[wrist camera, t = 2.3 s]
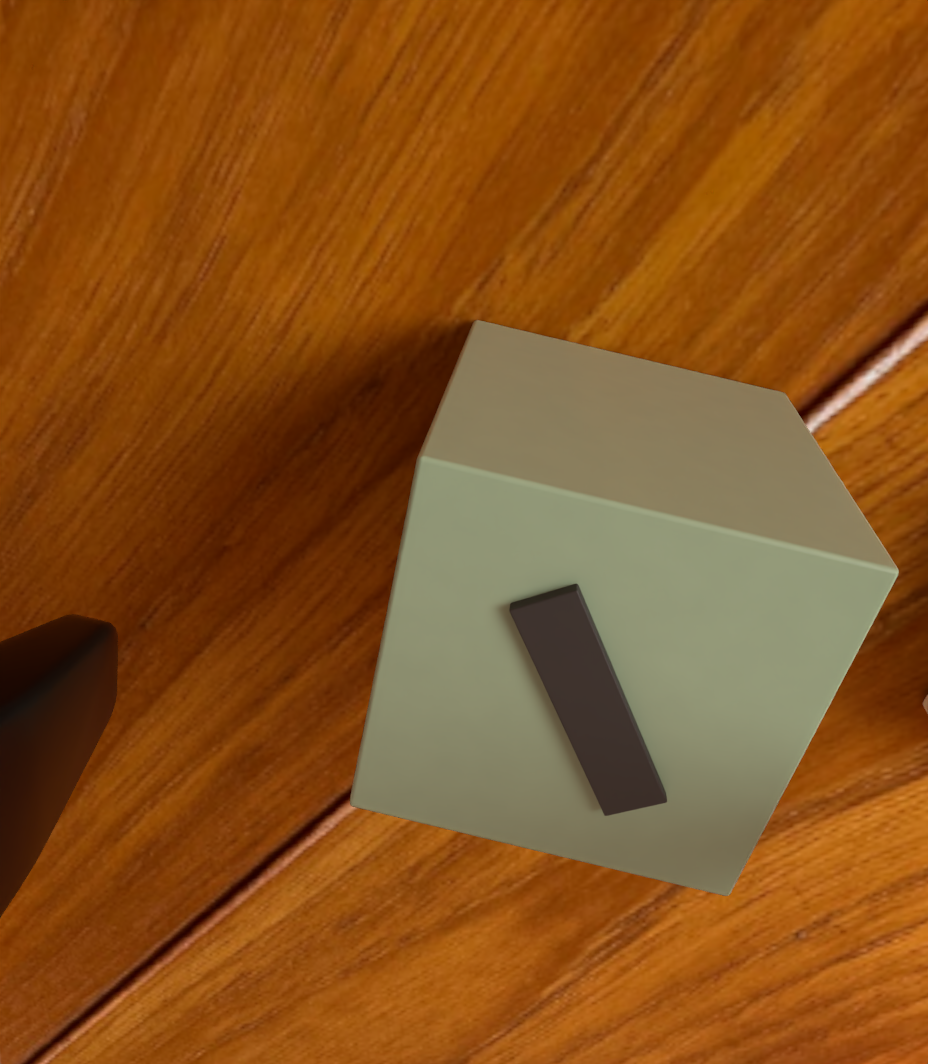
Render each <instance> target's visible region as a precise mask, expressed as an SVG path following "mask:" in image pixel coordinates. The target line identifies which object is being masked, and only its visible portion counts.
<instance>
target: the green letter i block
mask: <svg viewBox="0 0 928 1064" xmlns="http://www.w3.org/2000/svg"><path fill="white" fill-rule="evenodd" d="M898 572H899V570H898V568H897V566H896V565H895V563H894V562H893V560H892V559H891V557H890V555H889V554H888V552H887V551H886V549H885V548H884V546H883V545H882V543H881V541H880V540H879V538H878V537H877V535H876V534H875V532H874V531H873V529H872V527H871V526H870V524H869V523H868V521H867V520H866V518H865V517H864V515H863V513H862V512H861V510H860V509H859V507H858V506H857V504H856V503H855V501H854V500H853V498H852V496H851V495H850V493H849V492H848V490H847V489H846V487H845V486H844V484H843V482H842V481H841V479H840V478H839V476H838V475H837V473H836V472H835V470H834V468H833V467H832V465H831V464H830V462H829V461H828V459H827V458H826V456H825V454H824V453H823V451H822V450H821V448H820V447H819V445H818V444H817V442H816V440H815V439H814V437H813V436H812V434H811V433H810V431H809V430H808V428H807V426H806V425H805V423H804V422H803V420H802V419H801V417H800V416H799V414H798V413H797V411H796V409H795V408H794V406H793V405H792V403H791V402H790V400H789V399H788V397H787V395H786V394H785V393H783V392H779V391H775V390H771V389H766V388H762V387H758V386H754V385H750V384H745V383H741V382H737V381H733V380H728V379H724V378H720V377H716V376H712V375H707V374H703V373H699V372H695V371H691V370H686V369H682V368H678V367H674V366H670V365H665V364H661V363H657V362H653V361H648V360H644V359H640V358H636V357H632V356H627V355H623V354H619V353H615V352H611V351H606V350H602V349H598V348H594V347H590V346H585V345H581V344H577V343H573V342H568V341H564V340H560V339H556V338H552V337H547V336H543V335H539V334H535V333H531V332H526V331H522V330H518V329H514V328H510V327H505V326H501V325H497V324H493V323H488V322H484V321H480V320H475V321H474V322H473V324H472V327H471V329H470V332H469V334H468V336H467V339H466V341H465V344H464V346H463V349H462V351H461V353H460V356H459V358H458V361H457V363H456V366H455V368H454V370H453V373H452V375H451V378H450V380H449V382H448V385H447V387H446V390H445V392H444V395H443V397H442V399H441V402H440V404H439V407H438V409H437V412H436V414H435V416H434V419H433V421H432V424H431V426H430V429H429V431H428V433H427V436H426V438H425V441H424V443H423V445H422V448H421V450H420V453H419V455H418V458H417V461H416V466H415V471H414V477H413V482H412V487H411V492H410V497H409V502H408V507H407V512H406V517H405V522H404V527H403V532H402V537H401V542H400V547H399V553H398V558H397V563H396V568H395V573H394V578H393V583H392V588H391V593H390V598H389V603H388V608H387V613H386V618H385V623H384V629H383V634H382V639H381V644H380V649H379V654H378V659H377V664H376V669H375V674H374V679H373V684H372V689H371V694H370V700H369V705H368V710H367V715H366V720H365V725H364V730H363V735H362V740H361V745H360V750H359V755H358V760H357V765H356V770H355V776H354V781H353V786H352V791H351V796H350V805H351V806H353V807H357V808H361V809H365V810H369V811H373V812H378V813H382V814H386V815H390V816H394V817H398V818H403V819H407V820H411V821H415V822H419V823H423V824H428V825H432V826H436V827H440V828H444V829H448V830H453V831H457V832H461V833H465V834H469V835H474V836H478V837H482V838H486V839H490V840H494V841H499V842H503V843H507V844H511V845H515V846H519V847H524V848H528V849H532V850H536V851H540V852H544V853H549V854H553V855H557V856H561V857H565V858H569V859H574V860H578V861H582V862H586V863H590V864H595V865H599V866H603V867H607V868H611V869H615V870H620V871H624V872H628V873H632V874H636V875H640V876H645V877H649V878H653V879H657V880H661V881H665V882H670V883H674V884H678V885H682V886H686V887H690V888H695V889H699V890H703V891H707V892H711V893H716V894H720V895H724V896H728V895H730V893H731V891H732V889H733V887H734V886H735V884H736V882H737V880H738V878H739V876H740V874H741V872H742V870H743V868H744V867H745V865H746V863H747V861H748V859H749V857H750V855H751V853H752V851H753V850H754V848H755V846H756V844H757V842H758V840H759V838H760V836H761V834H762V832H763V831H764V829H765V827H766V825H767V823H768V821H769V819H770V817H771V815H772V813H773V812H774V810H775V808H776V806H777V804H778V802H779V800H780V798H781V796H782V794H783V793H784V791H785V789H786V787H787V785H788V783H789V781H790V779H791V777H792V775H793V774H794V772H795V770H796V768H797V766H798V764H799V762H800V760H801V758H802V757H803V755H804V753H805V751H806V749H807V747H808V745H809V743H810V741H811V739H812V738H813V736H814V734H815V732H816V730H817V728H818V726H819V724H820V722H821V720H822V719H823V717H824V715H825V713H826V711H827V709H828V707H829V705H830V703H831V701H832V700H833V698H834V696H835V694H836V692H837V690H838V688H839V686H840V684H841V682H842V681H843V679H844V677H845V675H846V673H847V671H848V669H849V667H850V665H851V664H852V662H853V660H854V658H855V656H856V654H857V652H858V650H859V648H860V646H861V645H862V643H863V641H864V639H865V637H866V635H867V633H868V631H869V629H870V627H871V626H872V624H873V622H874V620H875V618H876V616H877V614H878V612H879V610H880V608H881V607H882V605H883V603H884V601H885V599H886V597H887V595H888V593H889V591H890V589H891V588H892V586H893V584H894V582H895V580H896V578H897V576H898Z"/></svg>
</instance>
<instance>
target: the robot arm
mask: <svg viewBox="0 0 928 1064" xmlns="http://www.w3.org/2000/svg"><path fill="white" fill-rule="evenodd" d="M117 666H118V635H117V631H116V628H115V627H114V626H113V625H112V624H111V623H109V622H106V621H102V620H98V619H93V618H89V617H85V616H81V615H74V614H71V615H66V616H63V617H60V618H58V619H55V620H53V621H50V622H48V623H46V624H43V625H41V626H38V627H36V628H33V629H31V630H28V631H26V632H24V633H21V634H19V635H16V636H14V637H11V638H9V639H6V640H4V641H1V642H0V917H1V916H2V914H3V913H4V911H5V910H6V908H7V907H8V905H9V904H10V902H11V901H12V899H13V898H14V896H15V895H16V893H17V892H18V890H19V889H20V887H21V885H22V884H23V882H24V880H25V879H26V877H27V876H28V874H29V872H30V871H31V869H32V868H33V866H34V864H35V863H36V861H37V859H38V857H39V855H40V853H41V852H42V850H43V848H44V846H45V844H46V842H47V840H48V839H49V837H50V835H51V833H52V831H53V829H54V827H55V825H56V823H57V821H58V819H59V817H60V815H61V813H62V811H63V809H64V807H65V805H66V803H67V801H68V800H69V798H70V796H71V794H72V792H73V790H74V788H75V786H76V784H77V782H78V780H79V778H80V776H81V774H82V772H83V770H84V768H85V766H86V764H87V762H88V760H89V758H90V757H91V755H92V753H93V751H94V749H95V747H96V745H97V743H98V741H99V739H100V737H101V735H102V733H103V731H104V729H105V727H106V725H107V723H108V721H109V719H110V717H111V715H112V712H113V709H114V706H115V702H116V696H117Z"/></svg>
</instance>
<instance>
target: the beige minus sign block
mask: <svg viewBox="0 0 928 1064" xmlns="http://www.w3.org/2000/svg"><path fill="white" fill-rule="evenodd" d="M923 706H924V708H925V710H926V712H927V714H928V694H927V696H926V697H925V699H924V701H923Z"/></svg>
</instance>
